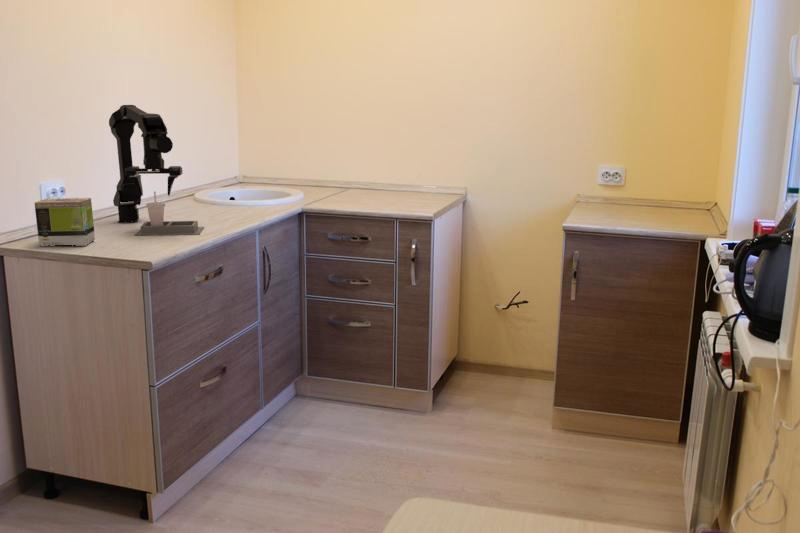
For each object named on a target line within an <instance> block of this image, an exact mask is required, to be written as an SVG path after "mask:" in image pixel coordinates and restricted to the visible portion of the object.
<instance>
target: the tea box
mask: <svg viewBox="0 0 800 533" xmlns="http://www.w3.org/2000/svg"><path fill="white" fill-rule="evenodd" d="M92 204H93V203H92V198H91V197H61V198H60V197H58V198H57V197H56V198H50V197H48V198H44V199H41V200H39V201H36V202H34V210H35V212H34V213H35V220H36V227H37V236H38V245H42V246H41V247H56V246H55V245H72V246H71V247H74V246H73V245H76V246H75V247H86V246H88V245H90V244H91V243H90V242H92V241H93V242H95V241H94V240H96V238H95V237H96V236H95V225H94V216H93V215H94V214H93V206H92ZM93 242H92V243H93ZM89 243H90V244H89ZM87 244H88V245H87ZM44 245H46V246H44ZM48 245H50V246H48Z"/></svg>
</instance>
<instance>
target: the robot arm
mask: <svg viewBox="0 0 800 533" xmlns="http://www.w3.org/2000/svg"><path fill="white" fill-rule="evenodd" d="M136 124H137V127H138V128H139V129H140V131H141V132H142V133H141V138H142V142H143V162H142V163H143V166H144V168H140V166H136V165H135V166H133V158H132V157H133V155H132V144H131V139H132V137H133V134H134V133H135V126H136ZM108 126H109V127H110V132H111V133H112V135H113V137H114V138H115V139H116V147H117V155H118V158H117V160H118V168H119V178H120V179H119V180H118V183H117V184H116V191H115V193H114V196H113V199H112V203H113V206H115V207H117V210H118V221H117V223H136V222H137V221H139V220H140V213H139V212H140V211H139V208H138V206H141V202H142V196H144V190H143V185H142V178H141V177H142V175H141V174H143V175H144V174H149V175H150V174H161V175H162V174H164V175H165V174H166V175H167V174H168V176H167V196H170V195H171V191H172V188H173V184H174V182H175V179H177V178H178V177H179V176H182V175H183V173H184V172H183V168H182V166H181V165H173V166H172V165H170V166H168V167H167V168H165V160H164V158H163V156H162V153H163V154H168V153H169V152H171V151H172V149H173V145H174V144H173V140H172V139H171V138H170V137H169V136H167V135H168V128H167V126H166V124H165V122H164V119H163V118H162V116H161V115H160V114H159V113H151V112H149V113H148V112H146V111H144V110H143V109H141V108H138V107H137V106H136V105H134V104H122V105H120V107H119V108H118V109H117V110H115V111H114V112H113V113H111V116H110V117H109V119H108Z"/></svg>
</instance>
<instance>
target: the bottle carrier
mask: <svg viewBox="0 0 800 533" xmlns="http://www.w3.org/2000/svg"><path fill="white" fill-rule="evenodd" d="M204 229H205V226H199V222H198V220H172V221H171V220H168V221H164V220H163V226H151V223H150V221H145V222H144V223H143V224H141V226H140V228H139V230H138V231H137V232H136V233H134V236H135V237H140V236H146V237H148V236H200V235H201V233H202V231H203V230H204Z"/></svg>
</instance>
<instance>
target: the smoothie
mask: <svg viewBox="0 0 800 533" xmlns="http://www.w3.org/2000/svg"><path fill="white" fill-rule="evenodd" d="M153 196H154V197H153V199H154V202H148V203H146V204H145V205H146V206H145V207H146V208H147V213H148V217H149V218H148V219H149V222H150V223H151V226H163V221H164V216H165V207H166V203H165V202H162V201H161V202H157V194H156V191H153Z"/></svg>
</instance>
